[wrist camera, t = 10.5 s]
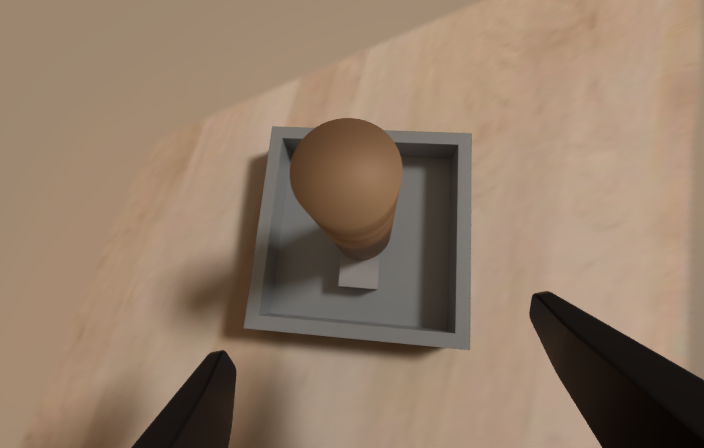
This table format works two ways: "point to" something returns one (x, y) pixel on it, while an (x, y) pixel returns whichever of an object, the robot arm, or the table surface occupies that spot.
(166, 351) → the table surface
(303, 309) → the tray
